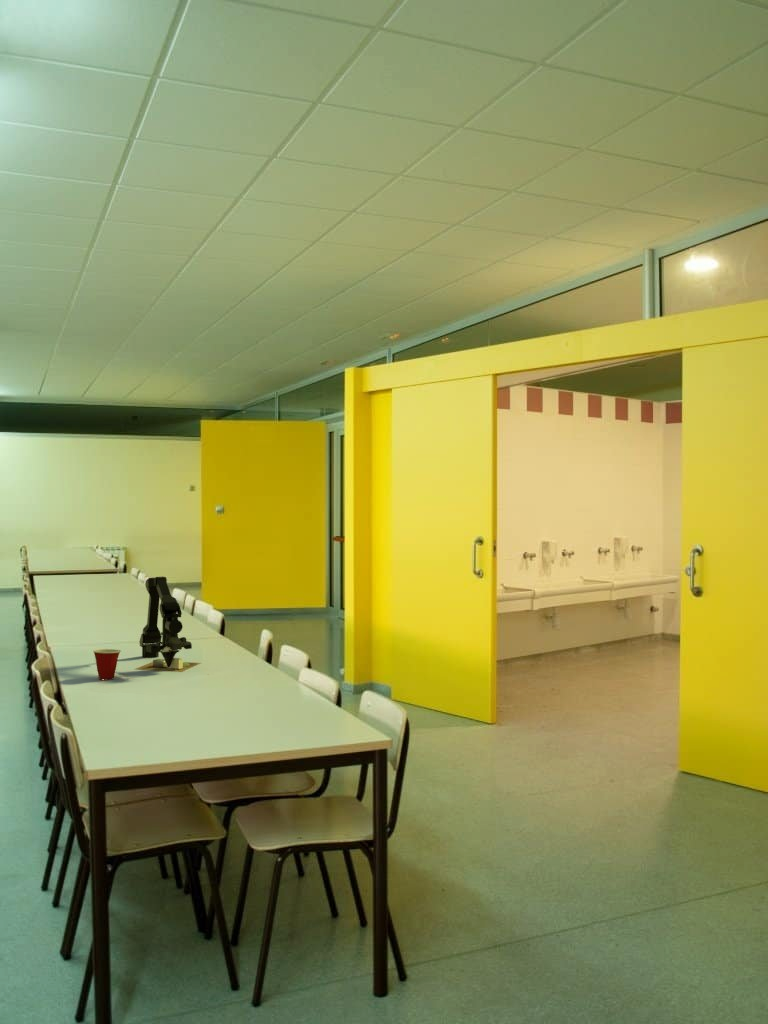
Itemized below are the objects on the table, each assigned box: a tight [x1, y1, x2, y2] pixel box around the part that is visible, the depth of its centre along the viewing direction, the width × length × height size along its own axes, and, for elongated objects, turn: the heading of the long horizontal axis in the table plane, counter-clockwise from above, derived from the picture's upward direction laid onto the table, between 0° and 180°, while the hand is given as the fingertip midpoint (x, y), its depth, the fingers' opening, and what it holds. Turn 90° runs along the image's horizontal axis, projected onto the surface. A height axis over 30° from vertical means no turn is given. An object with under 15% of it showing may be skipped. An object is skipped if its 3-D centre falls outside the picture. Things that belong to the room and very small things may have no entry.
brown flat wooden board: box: [135, 661, 202, 673], centre depth 374 cm, size 22×20×1 cm
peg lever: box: [152, 657, 184, 669], centre depth 370 cm, size 15×6×4 cm, turn 60°
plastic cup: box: [93, 648, 122, 681], centre depth 353 cm, size 11×11×12 cm
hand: (168, 666), depth 366 cm, fingers closed
